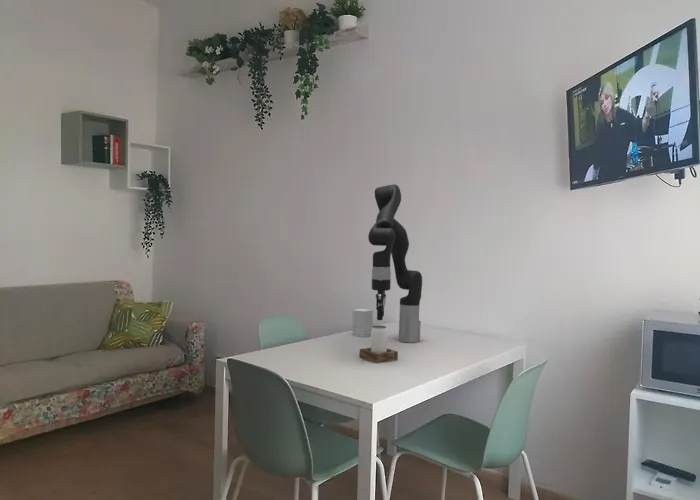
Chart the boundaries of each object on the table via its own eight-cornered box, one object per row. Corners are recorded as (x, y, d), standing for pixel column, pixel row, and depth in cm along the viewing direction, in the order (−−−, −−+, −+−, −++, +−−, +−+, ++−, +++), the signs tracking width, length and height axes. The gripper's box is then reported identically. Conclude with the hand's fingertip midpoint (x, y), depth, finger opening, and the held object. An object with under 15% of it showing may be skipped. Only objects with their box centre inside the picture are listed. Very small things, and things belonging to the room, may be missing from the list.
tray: (381, 354, 232) (381, 346, 232) (397, 360, 223) (397, 351, 223) (359, 357, 226) (359, 348, 226) (375, 363, 217) (375, 354, 217)
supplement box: (372, 335, 274) (373, 309, 273) (363, 337, 268) (364, 311, 268) (361, 333, 279) (361, 308, 278) (351, 335, 273) (352, 309, 273)
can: (375, 358, 221) (376, 328, 220) (367, 355, 226) (368, 325, 226) (389, 357, 224) (390, 327, 223) (381, 353, 229) (382, 324, 229)
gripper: (373, 276, 231) (372, 315, 231) (370, 279, 217) (369, 321, 217) (391, 276, 230) (390, 315, 231) (389, 280, 216) (389, 321, 216)
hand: (380, 318), depth 224 cm, fingers open, 8 cm apart
